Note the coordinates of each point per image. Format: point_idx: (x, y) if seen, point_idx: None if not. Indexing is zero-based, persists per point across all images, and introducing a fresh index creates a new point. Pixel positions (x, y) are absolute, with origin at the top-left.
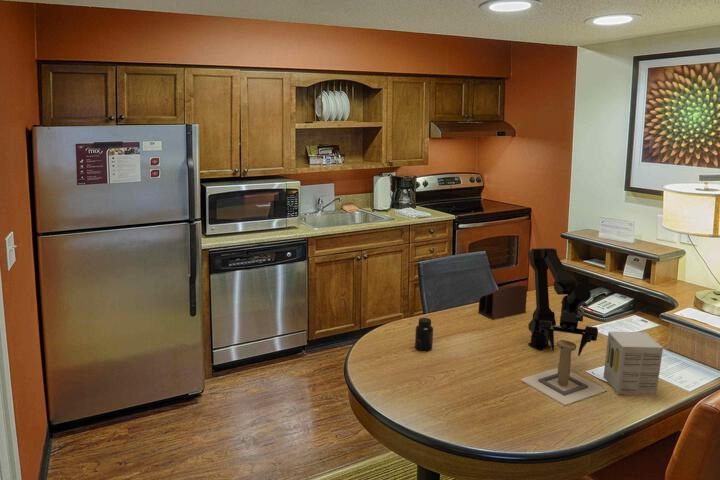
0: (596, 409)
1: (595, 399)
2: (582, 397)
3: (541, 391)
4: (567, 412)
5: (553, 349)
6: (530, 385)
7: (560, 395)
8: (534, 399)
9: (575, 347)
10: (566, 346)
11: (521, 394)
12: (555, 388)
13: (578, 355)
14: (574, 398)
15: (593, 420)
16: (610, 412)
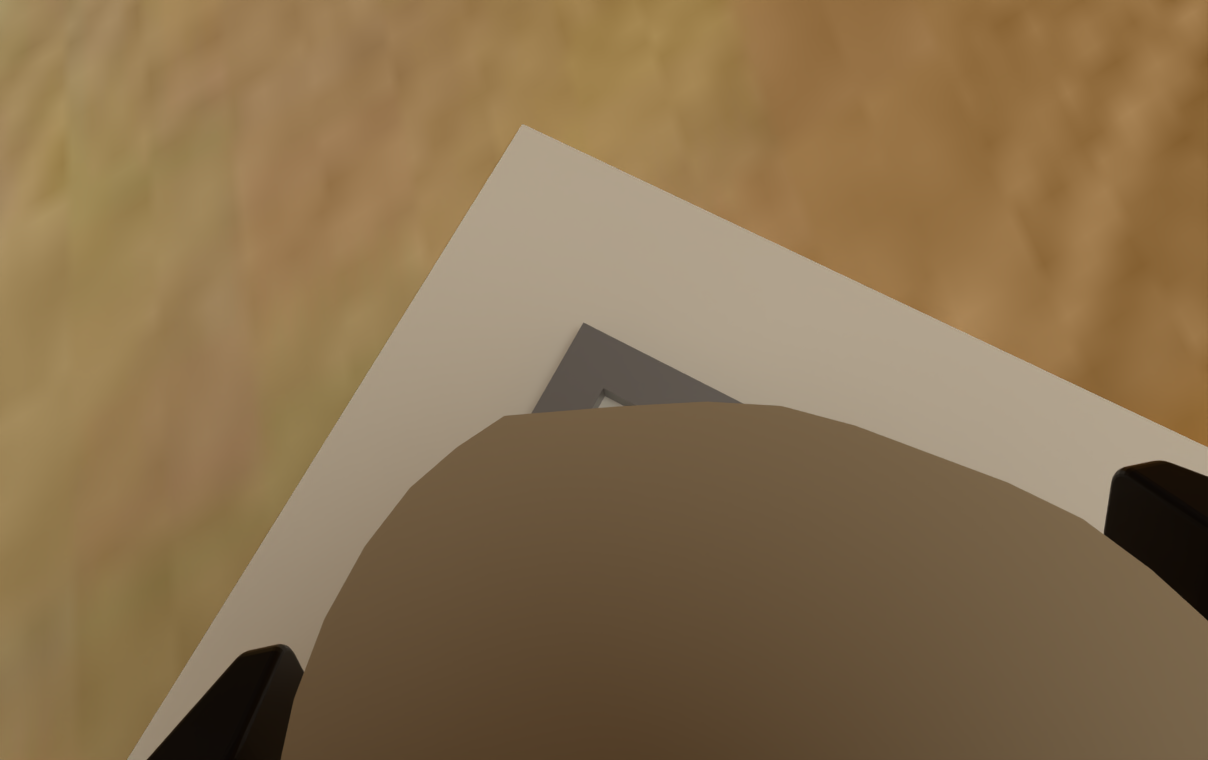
0: (190, 258)
1: (219, 504)
2: (366, 417)
3: (871, 291)
4: (471, 25)
5: (1165, 484)
6: (1061, 381)
7: (627, 314)
8: (875, 94)
9: (319, 684)
10: (709, 444)
11: (1053, 122)
12: (726, 401)
13: (296, 671)
14: (453, 332)
15: (202, 18)
16: (39, 277)
